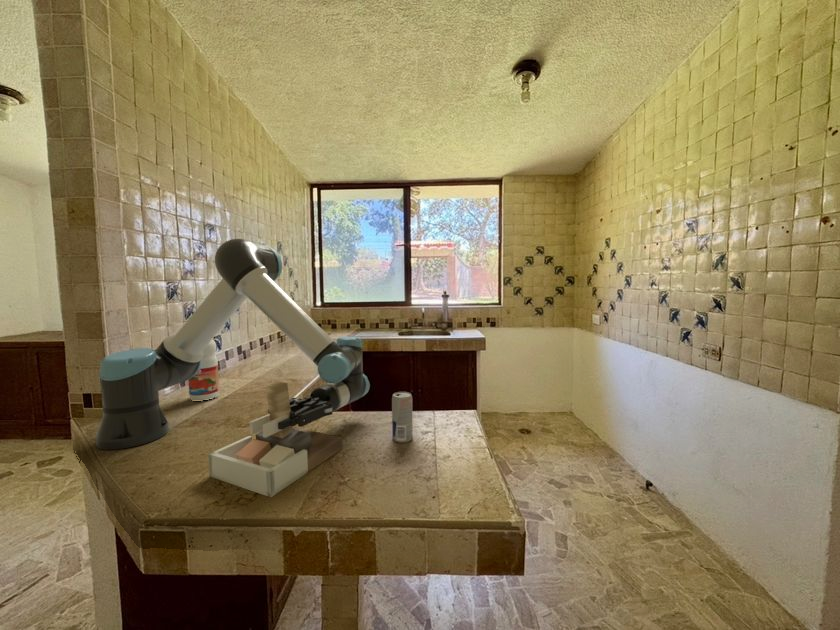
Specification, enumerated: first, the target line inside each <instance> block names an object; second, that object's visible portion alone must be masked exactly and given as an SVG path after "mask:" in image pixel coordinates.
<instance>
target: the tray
mask: <svg viewBox="0 0 840 630" xmlns="http://www.w3.org/2000/svg"><path fill="white" fill-rule="evenodd" d="M252 440H253V436H251V435H248V436H245V437H243V438H241V439H239V440H237V441H234V442H232V443H230V444H227V445H226V446H223V447H221V448H219V449H217V450H214V451H213V452H210V453H208V469H209V470H208V471H209V477H210V478H213V479H214V480H215V479H216V480H218V481H221V482H224V483H227V484H231V485H234V486H236V487H238V488H242V489H244V490H248V491H251V492H254V493H257V494H261V495H263V496H266V497H269V498H272V497H273V496H276V495H277V494H278V493H280V492H281V491H282V490H284V489H285V488H287V487H289V486H290V485H291V484H293V483H294V482H296V481H297V480H299V479H300V478H302V477H303V476H304V475H306V474H308V473H309V472H308V459H307V450H305V449H303V450H302V451H300V452H298V453H296V454H295V455H293V456H291V457H290V458H288V459H286V460H284V461H283V462H281V463H279V464H278V465H276V466H274V467H272V468H271V469H269V468H266V467H263V466H261V465H260V466H259V465H256V464H252V463H249V462H245V461H242V460H239V459H238V458H237V456H236V454H237V453H238V452H239V451H240V450H241V449H243V448H244V447H245V446H246V445H247V444H248V443H249V442H251V441H252Z"/></svg>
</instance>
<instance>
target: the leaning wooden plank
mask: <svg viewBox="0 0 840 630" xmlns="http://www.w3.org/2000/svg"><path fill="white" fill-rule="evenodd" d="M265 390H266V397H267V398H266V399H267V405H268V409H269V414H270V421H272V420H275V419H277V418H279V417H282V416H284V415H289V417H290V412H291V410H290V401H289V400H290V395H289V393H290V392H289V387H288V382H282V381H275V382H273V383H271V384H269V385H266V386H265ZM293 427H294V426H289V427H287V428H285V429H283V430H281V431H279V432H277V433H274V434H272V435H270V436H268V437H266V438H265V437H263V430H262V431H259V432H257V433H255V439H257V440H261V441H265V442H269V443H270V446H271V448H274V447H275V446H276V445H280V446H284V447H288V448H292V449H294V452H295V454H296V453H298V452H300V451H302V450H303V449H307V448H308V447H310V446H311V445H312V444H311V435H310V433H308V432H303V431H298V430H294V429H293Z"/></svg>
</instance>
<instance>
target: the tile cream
mask: <svg viewBox="0 0 840 630" xmlns="http://www.w3.org/2000/svg"><path fill="white" fill-rule="evenodd" d="M293 455H295V452H294V449H292V448H288V447H284V446H280V445H276V446H275V447H274V448H272V449H271V450H270V451H269V452H268V453H267V454H266V455H265V456H264V457H262V458H261V459H260V460H259V462H260V465H261V466H263V467H266V468H269V469H271V468H272V467H274V466H276V465H278V464H279V463H281V462H283V461H284V460H286V459H288V458H290V457H291V456H293Z"/></svg>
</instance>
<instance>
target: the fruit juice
mask: <svg viewBox="0 0 840 630" xmlns="http://www.w3.org/2000/svg"><path fill="white" fill-rule="evenodd" d="M216 351H217V343H216V341H215V340H214V338H213V339H212V340H211V341H210V342H209V344H208V345H207V346H206V347H205V348H204V349H203V355H204V356H203V359H202V360H201V367H200V369H199V371H198V372H197V374H196V375H195V376H193V377H192V378H190V379H189V380H187V382H188V397H189V400H190V399H191V400H204V399H210V398H213V397H216V396H218V395H219V396H220V385H219V384H220V383H219V382H220V381H219V363H218V357H217V355H216ZM219 396H218V397H219ZM191 400H190V401H191Z"/></svg>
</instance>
